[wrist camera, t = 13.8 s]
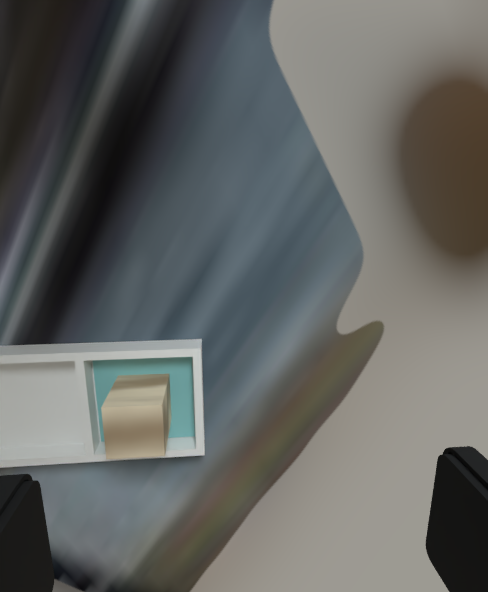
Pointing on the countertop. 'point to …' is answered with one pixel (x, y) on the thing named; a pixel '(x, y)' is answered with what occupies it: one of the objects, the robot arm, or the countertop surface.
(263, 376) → the countertop surface
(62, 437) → the organiser tray
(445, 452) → the robot arm
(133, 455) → the wooden block
